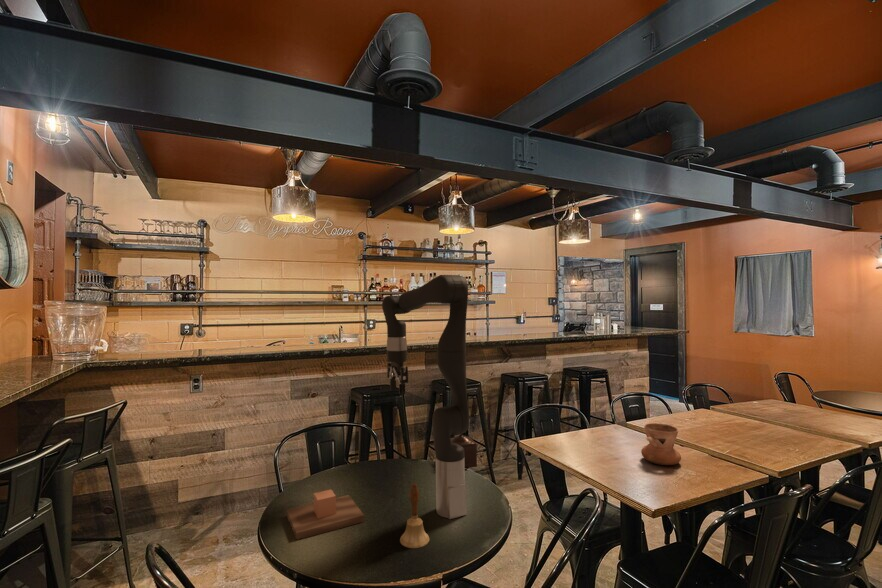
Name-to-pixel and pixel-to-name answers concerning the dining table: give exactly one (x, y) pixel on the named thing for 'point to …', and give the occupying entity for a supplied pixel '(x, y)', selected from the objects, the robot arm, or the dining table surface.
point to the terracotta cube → (324, 503)
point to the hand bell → (414, 524)
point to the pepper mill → (467, 449)
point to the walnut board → (323, 518)
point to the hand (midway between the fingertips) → (397, 392)
